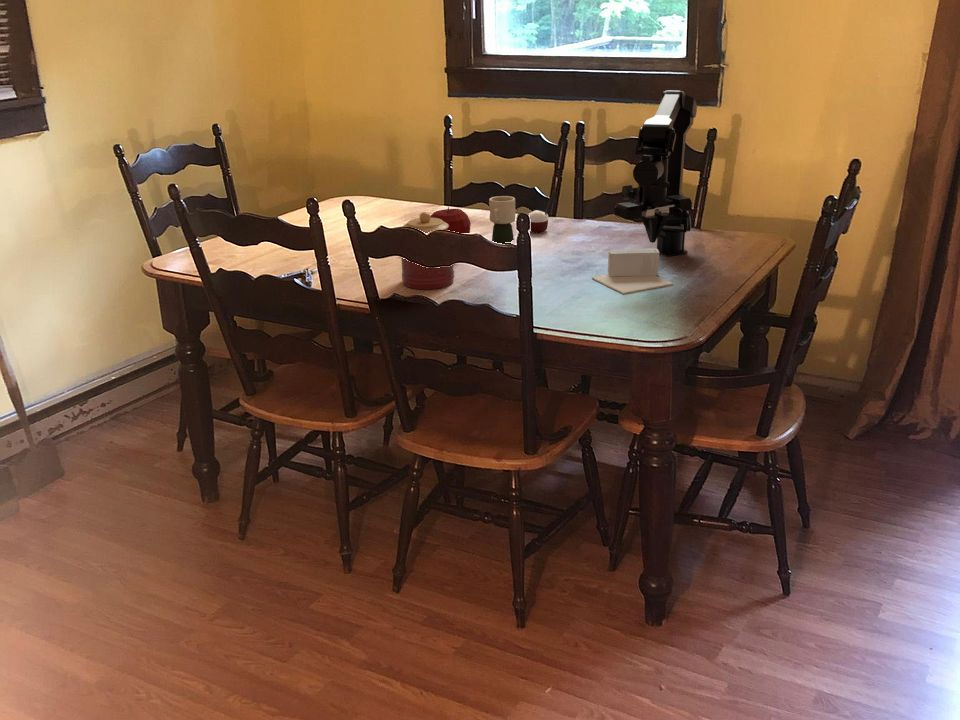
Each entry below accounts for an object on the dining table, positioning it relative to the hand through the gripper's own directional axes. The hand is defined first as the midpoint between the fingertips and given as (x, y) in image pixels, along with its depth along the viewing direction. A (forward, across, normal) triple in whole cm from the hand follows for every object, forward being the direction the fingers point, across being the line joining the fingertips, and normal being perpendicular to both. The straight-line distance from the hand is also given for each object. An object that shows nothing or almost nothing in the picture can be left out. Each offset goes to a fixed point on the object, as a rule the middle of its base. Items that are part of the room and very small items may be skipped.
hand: (652, 242), depth 225 cm
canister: (+9, +48, -25) cm, 55 cm away
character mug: (+9, +17, -46) cm, 50 cm away
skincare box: (+6, -3, -1) cm, 7 cm away
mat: (+9, +6, 0) cm, 11 cm away
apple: (+9, +34, -44) cm, 57 cm away
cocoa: (+9, +2, -53) cm, 54 cm away
